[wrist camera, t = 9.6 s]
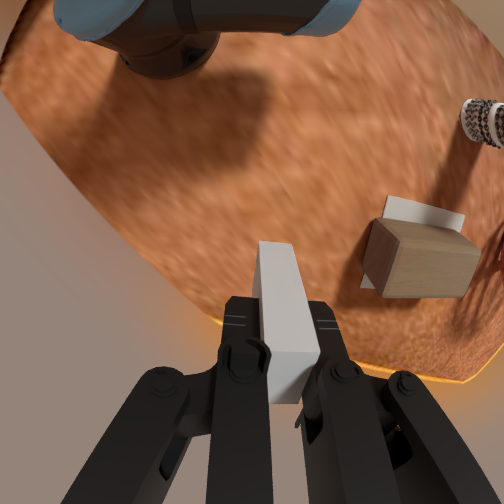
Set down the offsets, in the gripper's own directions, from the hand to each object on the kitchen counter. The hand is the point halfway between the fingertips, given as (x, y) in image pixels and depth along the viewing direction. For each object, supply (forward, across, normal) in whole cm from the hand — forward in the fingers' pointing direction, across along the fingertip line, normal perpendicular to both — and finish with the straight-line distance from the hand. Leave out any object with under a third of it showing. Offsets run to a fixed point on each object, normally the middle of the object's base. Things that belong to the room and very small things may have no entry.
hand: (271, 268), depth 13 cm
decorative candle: (+30, +39, +17) cm, 52 cm away
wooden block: (+24, +20, -10) cm, 32 cm away
